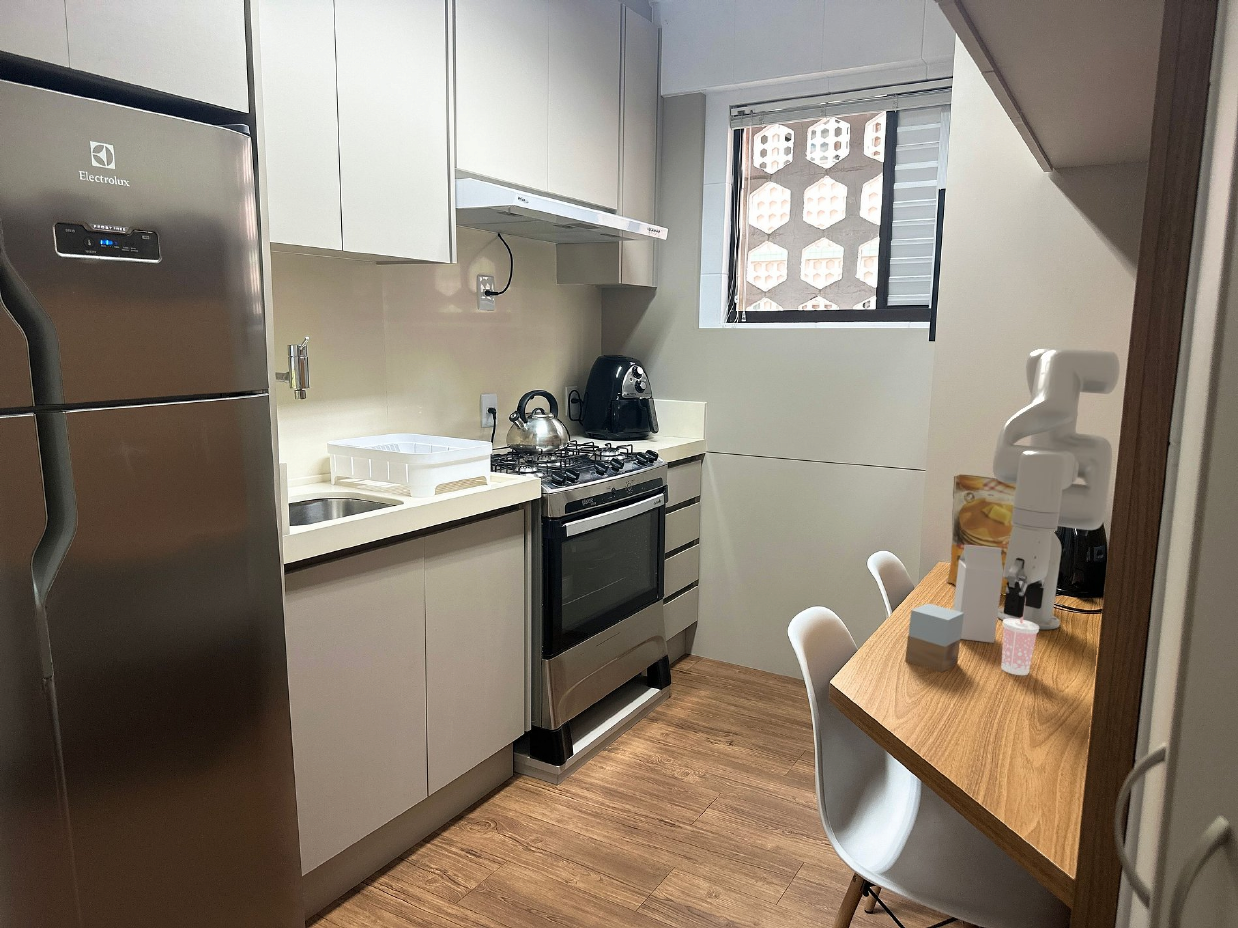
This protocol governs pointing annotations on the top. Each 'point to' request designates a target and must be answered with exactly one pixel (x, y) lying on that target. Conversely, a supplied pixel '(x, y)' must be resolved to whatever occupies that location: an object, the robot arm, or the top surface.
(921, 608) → the top block
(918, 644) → the bottom block
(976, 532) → the pancake mix bag
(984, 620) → the milk carton
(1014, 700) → the top surface
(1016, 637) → the beverage cup
